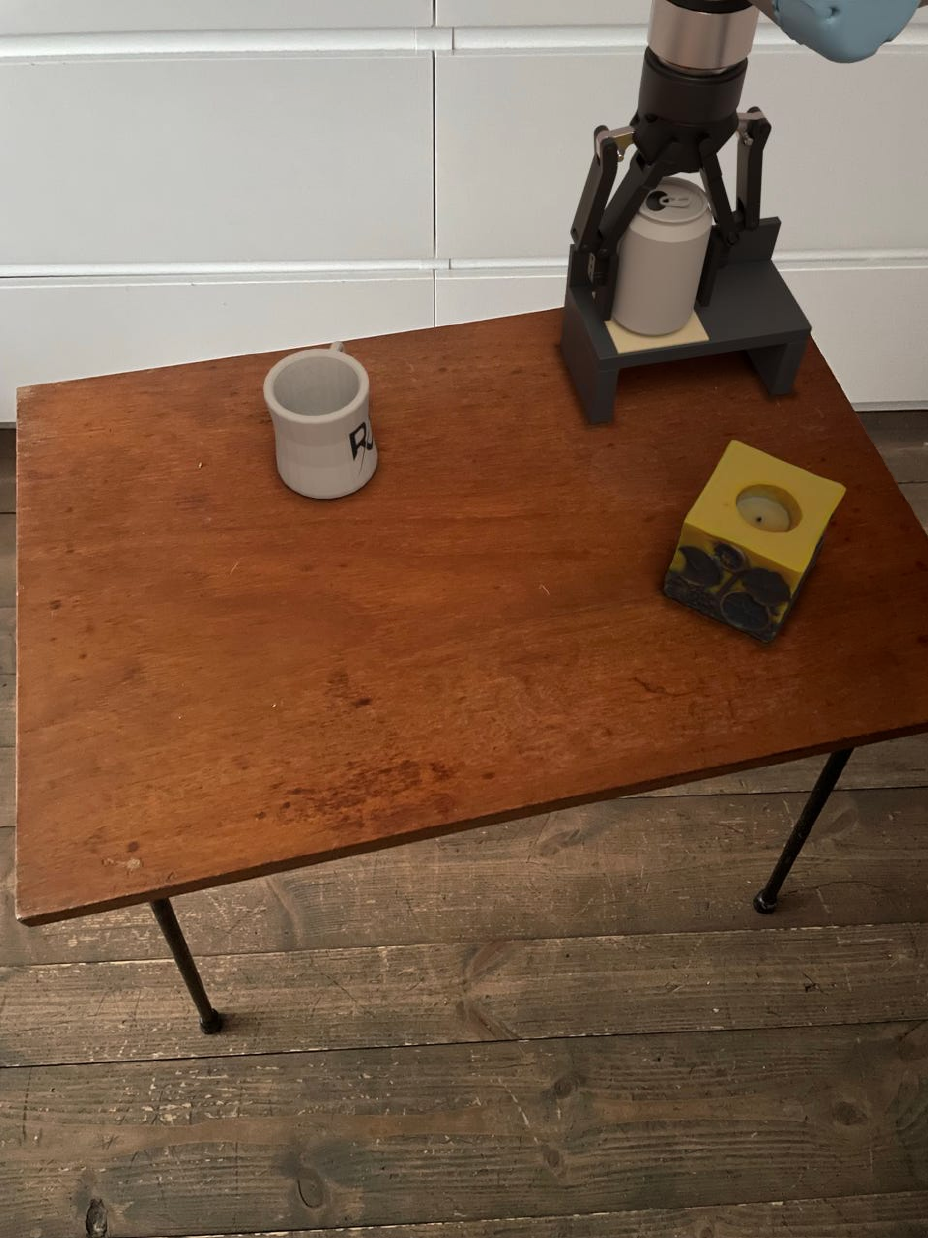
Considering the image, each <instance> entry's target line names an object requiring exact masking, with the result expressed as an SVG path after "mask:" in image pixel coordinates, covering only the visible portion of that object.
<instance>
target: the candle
mask: <svg viewBox="0 0 928 1238" xmlns="http://www.w3.org/2000/svg"><path fill="white" fill-rule="evenodd" d="M846 491H847V488H846V487H845V486H844V485H843V484H842V483H840V482H837V481H834V480H831V479H828V478H825V477H822V476H819V475H816V474H814V473H812V472H810V471H808V470H805V469H803V468H800V467H798V466H796V465H793V464H792V463H788V462H786V461H783V460H781V459H779V458H777V457H774V455H773V456H772V455H770V454H769V453H766V452H764V451H762V450H760V449H757V448H755V447H753V446H751V445H748V444H746V443H743V442H741V441H739V440H736V439H732V440H731V441H730V442H729V444H728V445H727V447H726V449H725V451H724V453H723V455H722V456H721V458H720V460H719V461H718V463H717V464H716V467H715V469H714V471H713V472H712V474H711V476H710V478H709V479H708V480H707V482H706V484H705V486H704V488H703V489H702V491H701V493H700V494H699V496H698V498H697V499H696V501H695V502H694V504H693V506H692V507H691V509H690V510H689V512H687V515H686V517H685V519H684V521H683V523H682V526H681V530H680V533H681V534H680V536H679V539H678V543H677V545H676V547H675V552H674V555H673V558H672V561H671V563H670V565H669V567H668V569H667V570H668V571H667V572H666V574H665V577H664V586H663V588H662V589H663V590H662V592H663V594H664V596H666V597H667V598H671V599H674V600H676V601H678V602H679V603H681V604H682V605H684V606H688V607H690V608H691V609H695V610H697V611H700V613H701V614H702V615H705V616H707V617H709V618H712V619H715V620H717V621H719V622H721V623H724V624H725V625H729V626H731V627H733V628H734V629H735V630H737V631H741V632H745V633H746V634H748V635H750V636H752V637H754V638H756V639H758V640H759V641H761V642H762V643H766V644H769V643H772V642H773V641H774V640H775V638H776V636H777V635H778V634H779V633H780V629H781V627H782V626H783V625H784V622H785V620H786V619H787V616H788V615H789V614H790V610H791V608H792V606H793V605H794V604H795V601H796V600H797V598H798V596H799V595H800V593H799V592H800V590H801V587H802V586H803V584H804V582H805V580H806V578H807V576H808V575H809V572H810V571H811V570H812V569H813V568H814V567H815V565H816V562H817V557H818V556H819V554H820V553H821V551H822V549H823V546H824V543H825V542H824V540H825V537H826V532H827V528H828V525H829V522H831V521H832V520H833V519H834V518H835V515H834V512H835V511H836V510H837V507H838V506H839V504H840V503H841V500H842V498H843V497H844V495H845V493H846Z"/></svg>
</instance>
